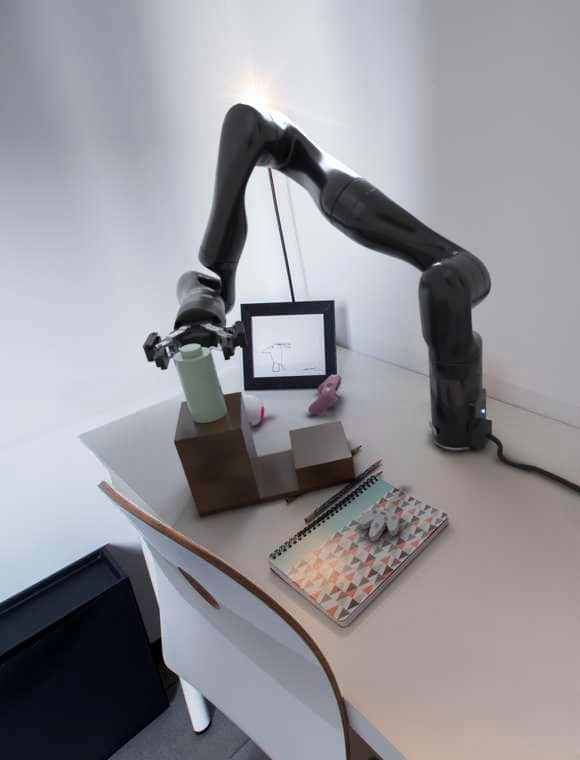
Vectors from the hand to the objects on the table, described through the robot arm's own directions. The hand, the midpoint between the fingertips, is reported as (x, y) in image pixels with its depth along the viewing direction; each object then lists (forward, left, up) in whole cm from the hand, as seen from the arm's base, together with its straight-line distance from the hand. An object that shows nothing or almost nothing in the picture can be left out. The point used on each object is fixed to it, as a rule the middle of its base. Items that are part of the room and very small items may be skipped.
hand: (194, 358), depth 76 cm
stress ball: (+10, -17, -23) cm, 31 cm away
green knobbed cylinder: (0, 0, -9) cm, 9 cm away
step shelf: (-6, -4, -23) cm, 24 cm away
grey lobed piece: (-28, -2, -23) cm, 37 cm away
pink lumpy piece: (0, -28, -23) cm, 37 cm away
